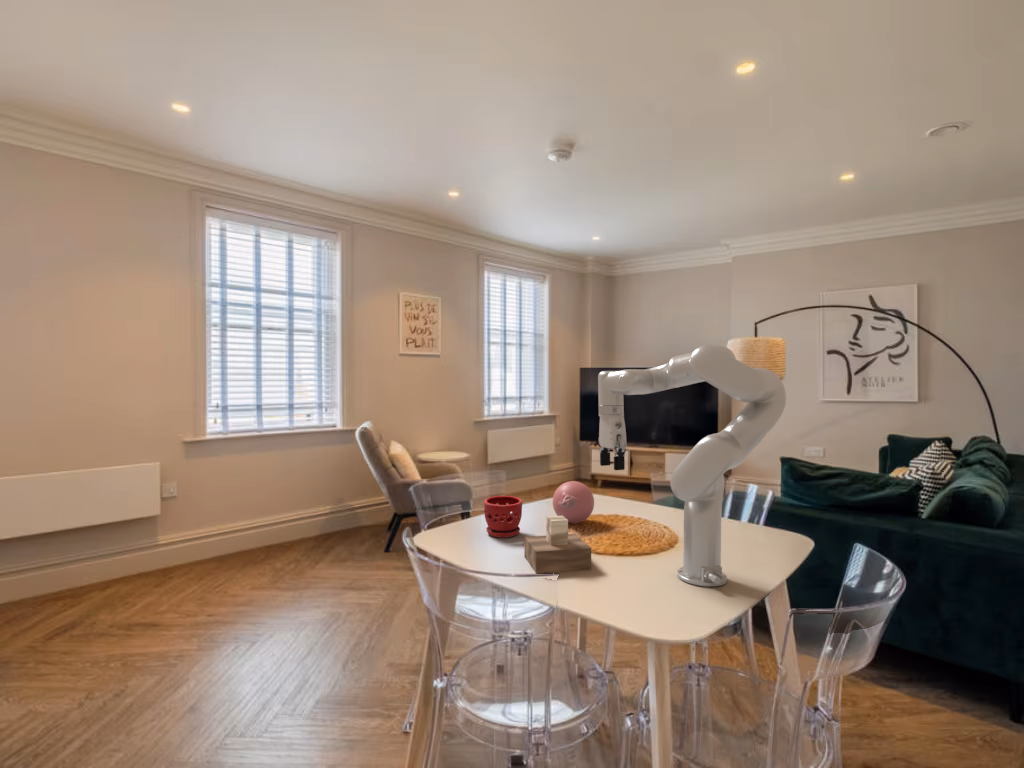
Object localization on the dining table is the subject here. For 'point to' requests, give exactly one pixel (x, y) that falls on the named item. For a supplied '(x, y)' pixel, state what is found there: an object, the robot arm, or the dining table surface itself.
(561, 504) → the balloon
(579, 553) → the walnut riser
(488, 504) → the plant pot
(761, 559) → the dining table surface
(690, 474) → the robot arm
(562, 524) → the birch block
